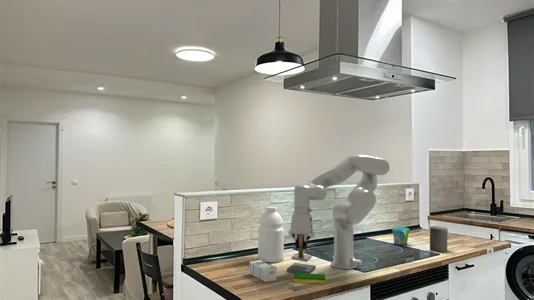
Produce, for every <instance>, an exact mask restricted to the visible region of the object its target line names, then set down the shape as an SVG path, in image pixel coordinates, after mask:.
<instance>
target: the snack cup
mask: <svg viewBox="0 0 534 300" xmlns="http://www.w3.org/2000/svg"><path fill="white" fill-rule="evenodd" d="M391 231H392V235H393V242H394V244H396V245H398V246H406V245H408V240H409V233H410V228H408V227H405V226H393V227H391Z"/></svg>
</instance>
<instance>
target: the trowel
mask: <svg viewBox="0 0 534 300" xmlns="http://www.w3.org/2000/svg"><path fill="white" fill-rule="evenodd" d="M303 241H304V235H302V234H298V249H297V251H298V253H295V254H293V255H291V257H290V258H291V260H293V261H300V262H305V263H307V262H308V261H310V260H311V259H312V258H313V257H312V255H309V254H305V250H306V249H305V250H303Z"/></svg>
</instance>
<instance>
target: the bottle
mask: <svg viewBox="0 0 534 300" xmlns="http://www.w3.org/2000/svg"><path fill="white" fill-rule="evenodd" d="M264 210H265V211H264V212H263V214H261V216H260V218H259V221H258V224H259V225H260V226H259V227H258V229H257V231H258V233H257V234H258V236H257V243H258V244H257V245H258V246H257V260H261V261H263V262H265V263H269V264H270V263H280V262H282V261H284V259H285V258H284V257H285V255H284V252H285V249H284V248H285V247H284V246H285V242H284V240H285V239H284V237H285V228H284V227H283V224H284V219H283V217H282V216H281V214H280V213H279V212H278V206H273V205H270V206H265V207H264Z"/></svg>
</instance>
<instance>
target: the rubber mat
mask: <svg viewBox="0 0 534 300" xmlns="http://www.w3.org/2000/svg"><path fill="white" fill-rule="evenodd" d="M316 267H317V266H316V265H314V264H307V263H299V262H294V263H292V264H291V265H289V267H287V268H286V273H293V274H294V273H313V272H314V271H315V270H316V269H317V268H316Z"/></svg>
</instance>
